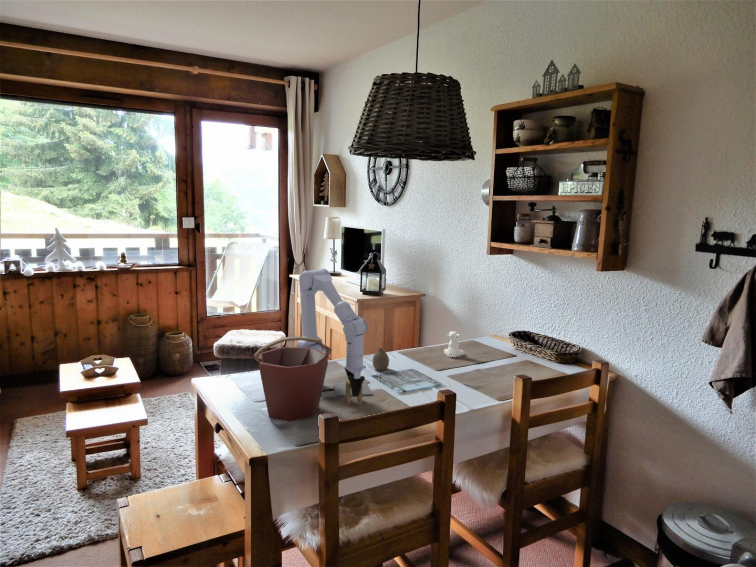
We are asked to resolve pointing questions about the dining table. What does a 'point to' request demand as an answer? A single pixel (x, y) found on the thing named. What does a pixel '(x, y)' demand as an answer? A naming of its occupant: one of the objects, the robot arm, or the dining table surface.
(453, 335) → the seated beast figurine
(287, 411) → the bucket
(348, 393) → the stool
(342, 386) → the mat
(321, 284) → the robot arm
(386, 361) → the vase
